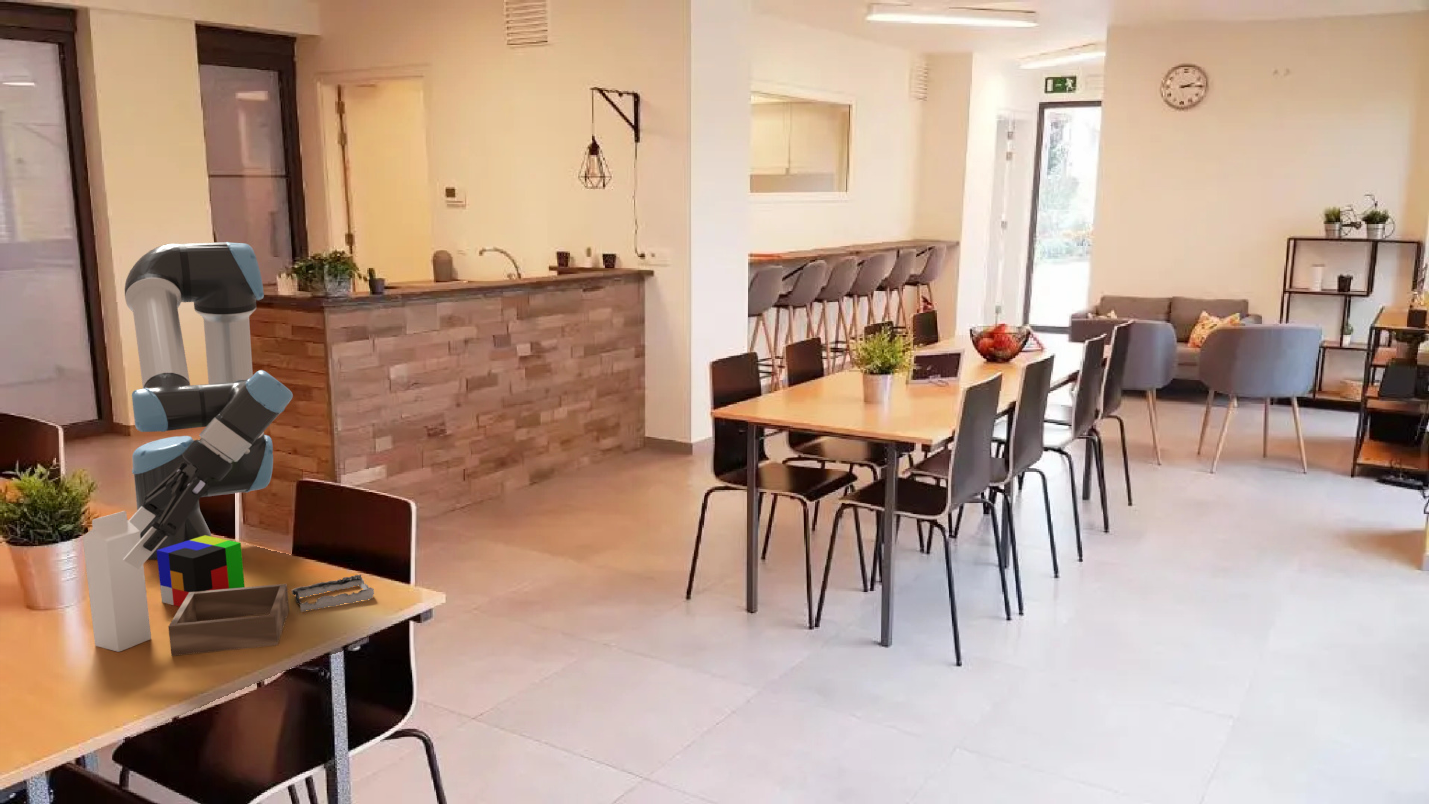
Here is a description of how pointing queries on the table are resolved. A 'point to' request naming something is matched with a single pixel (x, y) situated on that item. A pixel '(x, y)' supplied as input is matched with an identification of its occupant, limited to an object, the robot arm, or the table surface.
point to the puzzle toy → (199, 567)
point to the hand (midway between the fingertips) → (125, 552)
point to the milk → (115, 584)
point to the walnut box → (231, 631)
